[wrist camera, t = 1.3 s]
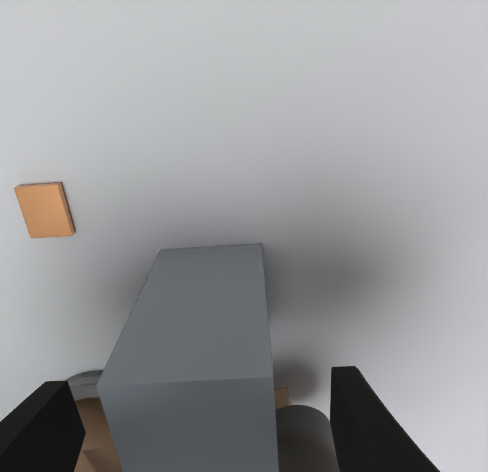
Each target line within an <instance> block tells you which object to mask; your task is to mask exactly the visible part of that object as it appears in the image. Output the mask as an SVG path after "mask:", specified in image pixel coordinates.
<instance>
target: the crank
mask: <svg viewBox="0 0 488 472" xmlns="http://www.w3.org/2000/svg"><path fill="white" fill-rule="evenodd" d="M274 394H275V412H276V431H277V449H278V468H279V472H340V469H339V466H338V462H337V457H336V452H335V447H334V441H333V436H332V430H331V425H330V422H329V420H328V418H327V417H326V416H325V415H324V414H323V413H322V412H320V411H319V410H317V409H315V408H312V407H309V406H304V405H291V402H290V399H289V395H288V391H287V388H280V389H275V390H274ZM75 403H76V406H77V409H78V412H79V415H80V417H81V420H82V423H83V426H84V429H85V432H86V434H85V437H84V441H83V444H82V448H81V451H80V455H79V458H78V461H77V464H76V467H75V470H74V472H123V470H122V467H121V464H120V461H119V457H118V454H117V451H116V448H115V445H114V442H113V438H112V435H111V432H110V429H109V426H108V422H107V419H106V416H105V413H104V410H103V406H102V403H101V400H100V398H87V399H80V400H76V401H75Z"/></svg>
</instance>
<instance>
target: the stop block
mask: <svg viewBox="0 0 488 472" xmlns="http://www.w3.org/2000/svg"><path fill="white" fill-rule="evenodd" d="M96 387H97V390H98V394H99V397H100V400H101V403H102V406H103V410H104V413H105V416H106V419H107V422H108V426H109V429H110V432H111V435H112V438H113V442H114V445H115V448H116V451H117V454H118V457H119V461H120V464H121V467H122V470H123V472H279V468H278V449H277V431H276V412H275V394H274V376H273V365H272V354H271V343H270V332H269V321H268V310H267V299H266V288H265V276H264V265H263V254H262V243H258V244H242V245H226V246H211V247H195V248H180V249H164V250H161V251H160V253H159V255H158V257H157V259H156V261H155V263H154V266H153V268H152V270H151V272H150V274H149V276H148V278H147V280H146V282H145V284H144V287H143V289H142V291H141V293H140V295H139V297H138V299H137V301H136V303H135V305H134V308H133V310H132V312H131V314H130V316H129V318H128V320H127V322H126V324H125V326H124V329H123V331H122V333H121V335H120V337H119V339H118V341H117V343H116V345H115V347H114V350H113V352H112V354H111V356H110V358H109V360H108V362H107V364H106V366H105V369H104V371H103V373H102V375H101V377H100V379H99V381H98V383H97V385H96Z"/></svg>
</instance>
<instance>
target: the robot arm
mask: <svg viewBox="0 0 488 472" xmlns="http://www.w3.org/2000/svg"><path fill="white" fill-rule="evenodd" d="M330 425H331V430H332V436H333V441H334V447H335V452H336V457H337V462H338V466H339V469H340V472H440V471H439V470H438V469H437V468H436V467H435V465H434V464H433V463H432V462H431V461H430V460H429V459H428V458H427V457H426V455H425V454H424V453H423V452H422V451H421V450H420V449H419V447H418V446H417V445H416V444H415V443H414V442H413V440H412V439H411V438H410V437H409V435H408V434H407V433H406V432H405V431H404V429H403V428H402V427H401V426H400V425H399V423H398V422H397V421H396V420H395V418H394V417H393V416H392V415H391V413H390V412H389V411H388V410H387V408H386V407H385V406H384V404H383V403H382V402H381V400H380V399H379V398H378V396H377V395H376V394H375V392H374V391H373V390H372V388H371V387H370V385H369V384H368V383H367V381H366V380H365V378H364V377H363V375H362V374H361V372H360V371H359V369H357V368H356V367H355V366H346V367H332V370H331V403H330ZM85 434H86V432H85V429H84V426H83V423H82V420H81V417H80V415H79V412H78V409H77V406H76V403H75V401H74V398H73V395H72V392H71V389H70V387H69V384H68V381H48V382H45V383H44V384H42V385H41V386H40V387H39V388H38V389H36V390H35V391H34V392H33V393H32V394H31V395H30V396H29V397H27V398H26V399H25V400H24V401H23V402H22V403H21V404H20V405H18V406H17V407H16V408H15V409H14V410H13V411H12V412H11V413H10V414H9V415H7V416H6V417H5V418H4V419H3V420H2V421H1V422H0V472H74V470H75V467H76V464H77V461H78V458H79V455H80V451H81V448H82V444H83V441H84V437H85Z"/></svg>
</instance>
